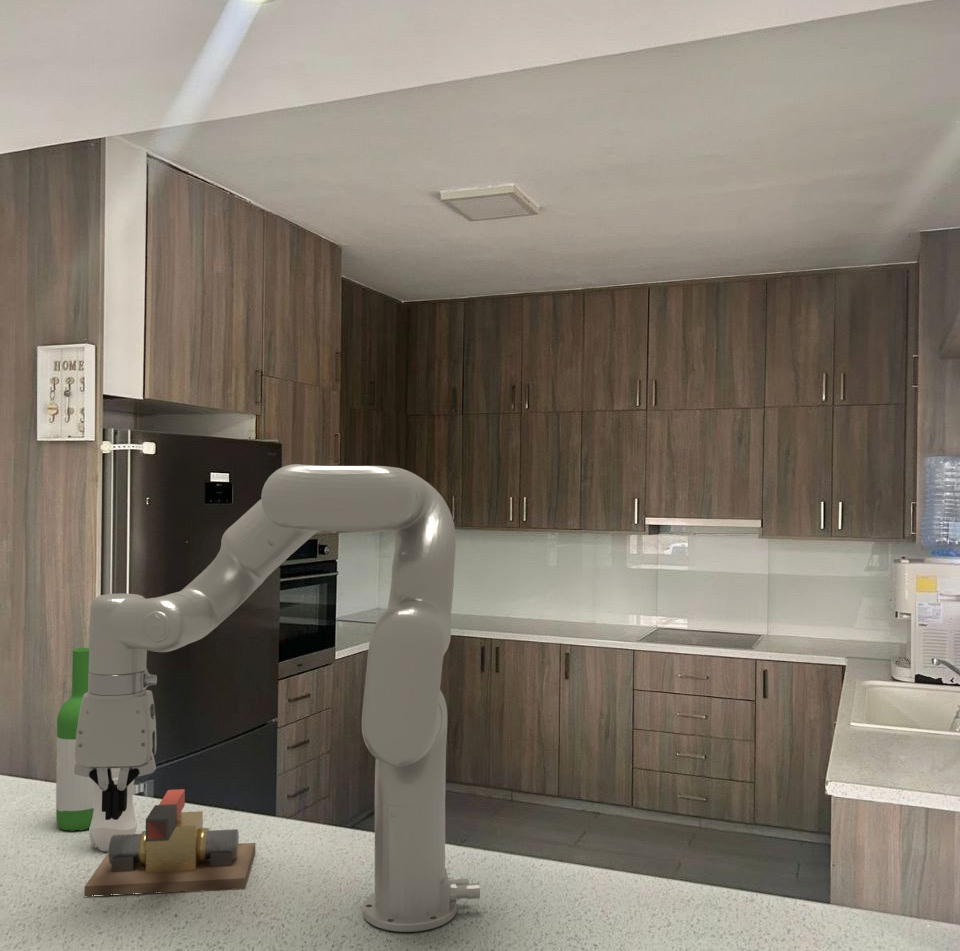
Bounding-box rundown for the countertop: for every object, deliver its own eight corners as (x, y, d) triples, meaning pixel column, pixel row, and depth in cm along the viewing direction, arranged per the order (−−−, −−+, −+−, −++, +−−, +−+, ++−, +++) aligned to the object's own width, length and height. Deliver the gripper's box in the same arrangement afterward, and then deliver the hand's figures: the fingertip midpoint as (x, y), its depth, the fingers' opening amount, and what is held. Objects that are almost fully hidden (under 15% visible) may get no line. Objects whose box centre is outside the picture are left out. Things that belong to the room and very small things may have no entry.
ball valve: (239, 852, 146) (239, 809, 146) (234, 868, 140) (234, 823, 140) (117, 858, 144) (117, 815, 144) (106, 875, 138) (106, 829, 138)
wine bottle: (89, 833, 159) (90, 653, 159) (46, 831, 160) (47, 652, 161) (114, 818, 166) (115, 645, 167) (73, 816, 168) (74, 644, 168)
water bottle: (144, 838, 156) (145, 685, 157) (124, 854, 149) (124, 694, 150) (102, 837, 157) (103, 684, 158) (80, 853, 150) (81, 693, 151)
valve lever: (186, 814, 143) (186, 787, 143) (168, 848, 129) (168, 818, 129) (166, 815, 143) (166, 788, 143) (145, 849, 129) (145, 819, 129)
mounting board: (255, 852, 150) (255, 842, 150) (245, 888, 136) (245, 878, 136) (110, 859, 147) (110, 849, 147) (84, 897, 134) (84, 886, 134)
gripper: (178, 678, 137) (174, 806, 137) (69, 678, 135) (65, 809, 135) (167, 688, 130) (164, 824, 129) (52, 689, 128) (48, 827, 127)
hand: (114, 816), depth 132 cm, fingers closed
